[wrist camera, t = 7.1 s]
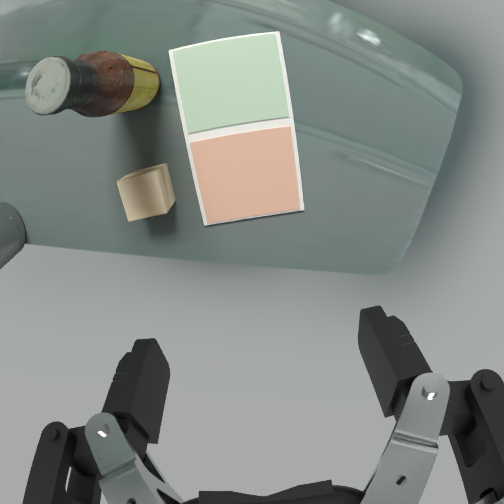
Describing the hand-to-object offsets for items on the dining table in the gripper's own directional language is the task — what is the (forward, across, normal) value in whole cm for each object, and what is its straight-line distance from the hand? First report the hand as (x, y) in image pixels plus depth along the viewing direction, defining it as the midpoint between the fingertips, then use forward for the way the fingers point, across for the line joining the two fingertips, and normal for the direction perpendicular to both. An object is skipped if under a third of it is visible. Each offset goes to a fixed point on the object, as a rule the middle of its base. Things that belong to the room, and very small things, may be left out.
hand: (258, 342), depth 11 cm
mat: (+28, 0, -6) cm, 29 cm away
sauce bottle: (+28, +11, -14) cm, 33 cm away
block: (+28, +12, -1) cm, 31 cm away
